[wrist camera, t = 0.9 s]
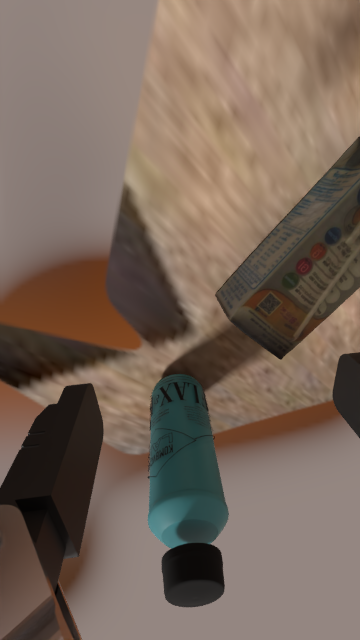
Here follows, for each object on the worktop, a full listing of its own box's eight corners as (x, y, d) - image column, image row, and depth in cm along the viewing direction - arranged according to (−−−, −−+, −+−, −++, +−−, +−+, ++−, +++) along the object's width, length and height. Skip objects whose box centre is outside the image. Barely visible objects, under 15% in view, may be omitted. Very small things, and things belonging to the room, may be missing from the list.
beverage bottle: (211, 373, 35) (268, 578, 17) (189, 411, 38) (218, 624, 20) (162, 357, 33) (168, 565, 16) (142, 398, 36) (128, 617, 18)
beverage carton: (404, 196, 27) (472, 202, 22) (259, 334, 33) (281, 368, 27) (359, 132, 25) (422, 119, 19) (209, 295, 31) (222, 323, 25)
